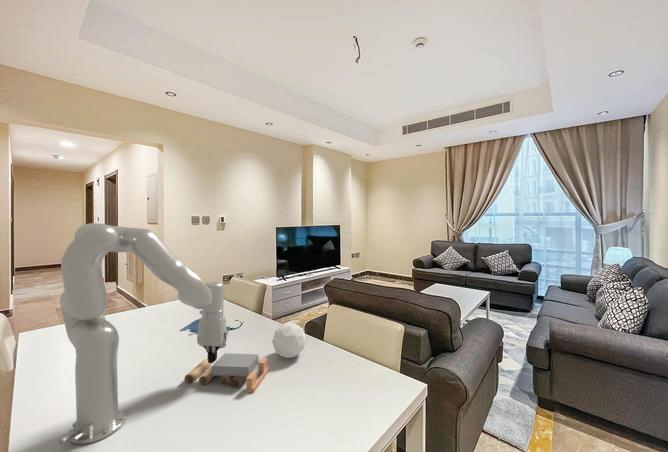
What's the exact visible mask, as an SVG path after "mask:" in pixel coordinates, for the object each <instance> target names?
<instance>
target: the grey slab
mask: <svg viewBox="0 0 668 452" xmlns="http://www.w3.org/2000/svg"><path fill="white" fill-rule="evenodd" d="M258 365H259V354H257V353H255V354H254V353H253V354H252V353H230V352H229V353H228V352H224V353H223V354H222V355H221V356H220V358H217V359H216V361H214V362H213V363H212V364H211V366H212V375H215V376H221V377H222V376H245V377H248V376H249V374H250V373H251V372H254V370H255V368H256V367H257V366H258Z"/></svg>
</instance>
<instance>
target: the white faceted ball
mask: <svg viewBox="0 0 668 452" xmlns="http://www.w3.org/2000/svg"><path fill="white" fill-rule="evenodd" d="M306 340H307V338H306V335H305V331H304V329H303V328H302V327H301V326H299V325H298V324H296V323H289V322H287V323H283V324H282V325H281V326H279V328H277V329H276V330H275V331H274V335H273V339H272V341H271V342H272V345H273V349H274V352H276V353H277V354H278V355H280V356H281V357H282V358H284V359H285V358H286V359H292V358H294V357H296V356H298V355H299V354H300V353H301V352H302V351H304V348H305V345H306Z"/></svg>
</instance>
